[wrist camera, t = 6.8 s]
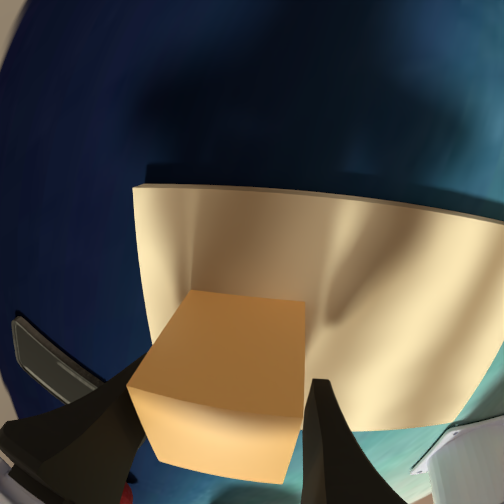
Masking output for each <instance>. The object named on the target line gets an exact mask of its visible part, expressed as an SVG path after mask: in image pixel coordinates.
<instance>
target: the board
mask: <svg viewBox="0 0 504 504" xmlns="http://www.w3.org/2000/svg"><path fill="white" fill-rule="evenodd" d="M133 200H134V215H135V227H136V238H137V247H138V256H139V264H140V272H141V280H142V287H143V293H144V300H145V306H146V312H147V318H148V323H149V329H150V334H151V339H152V344H154V342H155V341H156V339H157V338H158V336H159V335H160V333H161V332H162V331H163V329H164V328H165V326H166V325H167V323H168V322H169V320H170V319H171V317H172V316H173V314H174V313H175V311H176V310H177V308H178V307H179V306H180V304H181V303H182V301H183V300H184V298H185V297H186V295H187V294H188V292H189V291H190V290H198V291H206V292H214V293H223V294H232V295H241V296H250V297H260V298H270V299H281V300H292V301H303V302H305V381H304V409H305V406H306V402H307V398H308V394H309V391H310V387H311V383H312V379H313V378H316V379H329V380H330V382H331V385H332V388H333V391H334V394H335V397H336V399H337V402H338V404H339V406H340V409H341V411H342V413H343V415H344V418H345V420H346V422H347V424H348V426H349V428H350V430H351V431H379V430H394V429H406V428H415V427H424V426H431V425H438V424H445V423H450V422H453V421H454V420H455V418H456V417H457V416H458V414H459V413H460V412H461V410H462V409H463V407H464V406H465V405H466V403H467V402H468V400H469V399H470V397H471V396H472V394H473V393H474V391H475V390H476V388H477V387H478V385H479V383H480V382H481V380H482V379H483V377H484V375H485V374H486V372H487V370H488V369H489V367H490V365H491V363H492V362H493V360H494V358H495V356H496V354H497V352H498V350H499V349H500V347H501V345H502V343H503V341H504V221H499V220H495V219H490V218H486V217H481V216H476V215H471V214H466V213H461V212H456V211H450V210H445V209H439V208H433V207H427V206H421V205H415V204H409V203H402V202H395V201H388V200H381V199H373V198H366V197H358V196H349V195H340V194H331V193H321V192H311V191H299V190H287V189H274V188H260V187H243V186H222V185H194V184H142V185H139V186H136V187H134V188H133ZM303 420H304V411H303ZM303 420H302V424H301V427H300V430H303Z"/></svg>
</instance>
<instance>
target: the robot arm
mask: <svg viewBox="0 0 504 504" xmlns="http://www.w3.org/2000/svg"><path fill="white" fill-rule="evenodd" d="M146 354H147V353H145V354H144V355H142V356H141V357H140V358H138V359H137V360H136V361H134V362H133V363H132V364H130V365H129V366H128V367H126V368H125V369H124V370H122V371H121V372H120V373H118V374H117V375H116V376H114V377H113V378H111V379H110V380H109V381H107V382H106V383H104V384H103V385H101V386H100V387H98V388H97V389H95V390H93V391H92V392H90V393H89V394H87V395H85V396H83V397H81V398H80V399H78V400H76V401H74V402H72V403H69V404H67V405H65V406H62V407H60V408H57V409H55V410H52V411H50V412H47V413H44V414H40V415H37V416H33V417H29V418H24V419H18V420H12V421H7V422H6V423H5V424H4V425H3V427H2V428H1V429H0V450H1V451H2V452H3V453H4V454H5V455H6V456H7V457H8V458H9V459H10V460H11V461H12V462H13V463H14V466H13V467H12V468H11V467H9V465H8V464H7V463H6V462H5V461H4V460H3V459H2V458H1V457H0V504H120V501H121V497H122V493H123V490H124V486H125V483H126V480H127V477H128V473H129V470H130V468H131V465H132V462H133V459H134V457H135V454H136V452H137V450H138V447H139V445H140V443H141V442H142V440H143V438H144V436H145V434H146V433H145V431H144V428H143V426H142V424H141V421H140V419H139V417H138V414H137V412H136V409H135V407H134V405H133V402H132V399H131V397H130V394H129V392H128V389H127V386H126V385H127V383H128V382H129V380H130V379H131V377H132V376H133V374H134V373H135V371H136V370H137V368H138V367H139V365H140V364H141V362H142V360H143V359H144V357H145V356H146ZM302 433H303V489H302V497H301V504H407V503H406V502H405V501H404V500H403V499H402V498H401V497H400V496H399V495H398V494H397V493H396V492H395V491H394V490H393V489H392V488H391V487H390V486H389V485H388V483H387V482H386V481H385V480H384V479H383V478H382V477H381V475H380V474H379V473H378V472H377V471H376V469H375V468H374V467H373V465H372V464H371V462H370V461H369V460H368V458H367V457H366V455H365V454H364V452H363V451H362V449H361V447H360V446H359V444H358V442H357V441H356V439H355V437H354V435H353V434H352V432H351V430H350V428H349V426H348V424H347V422H346V420H345V418H344V415H343V413H342V411H341V409H340V406H339V404H338V402H337V399H336V397H335V394H334V391H333V388H332V385H331V382H330V380H329V379H316V378H313V379H312V383H311V387H310V391H309V394H308V398H307V402H306V406H305V409H304V420H303V431H302ZM426 472H428V474H429V479H430V484H431V490H432V495H433V501H434V504H504V415H503V416H499V417H496V418H492V419H488V420H485V421H481V422H476V423H472V424H468V425H463V426H458V427H453V428H450V429H448V430H447V431H446V432H445V433H444V434H443V435H442V437H441V438H440V439H439V440H438V441H437V443H436V444H435V445H434V446H433V447H432V448H431V449H430V451H429V452H428V453H427V454H426V455H425V456H424V457H423V458H422V459H421V460H420V461H419V463H418V464H417V465H416V466H415V467H414V468H413V469H412V470H411V471H410V474H411V475H415V474H421V473H426Z"/></svg>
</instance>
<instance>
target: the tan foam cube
mask: <svg viewBox="0 0 504 504" xmlns="http://www.w3.org/2000/svg"><path fill="white" fill-rule="evenodd" d="M304 381H305V302H303V301H292V300H281V299H270V298H260V297H250V296H241V295H232V294H223V293H214V292H206V291H198V290H190V291H189V292H188V294H187V295H186V297H185V298H184V300H183V301H182V303H181V304H180V306H179V307H178V308H177V310H176V311H175V313H174V314H173V316H172V317H171V319H170V320H169V322H168V323H167V325H166V326H165V328H164V329H163V331H162V332H161V333H160V335H159V336H158V338H157V339H156V341H155V342H154V344H153V345H152V347H151V348H150V350H149V351H148V353H147V354H146V356H145V357H144V359H143V360H142V362H141V364H140V365H139V367H138V368H137V370H136V371H135V373H134V374H133V376H132V377H131V379H130V380H129V382H128V383H127V385H126V386H127V389H128V392H129V394H130V397H131V399H132V402H133V405H134V407H135V409H136V412H137V414H138V417H139V419H140V421H141V424H142V426H143V428H144V431H145V433H146V435H147V437H148V439H149V442H150V444H151V446H152V448H153V450H154V452H155V454H156V456H157V458H158V460H159V461H161V462H164V463H168V464H171V465H175V466H178V467H182V468H186V469H190V470H194V471H198V472H203V473H207V474H212V475H217V476H223V477H228V478H234V479H240V480H247V481H255V482H263V483H273V484H283V481H284V478H285V475H286V472H287V469H288V466H289V463H290V460H291V457H292V454H293V451H294V447H295V444H296V441H297V438H298V434H299V431H300V427H301V424H302V420H303V411H304Z"/></svg>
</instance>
